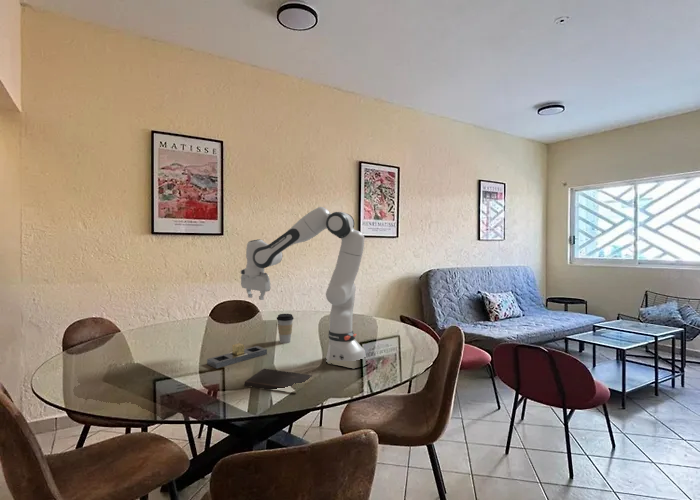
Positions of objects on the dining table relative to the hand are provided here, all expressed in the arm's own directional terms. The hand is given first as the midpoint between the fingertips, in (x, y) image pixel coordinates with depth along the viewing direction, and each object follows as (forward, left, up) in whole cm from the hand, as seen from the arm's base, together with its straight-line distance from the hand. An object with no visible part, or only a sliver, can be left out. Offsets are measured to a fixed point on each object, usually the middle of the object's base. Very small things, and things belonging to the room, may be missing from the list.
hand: (255, 298), depth 205 cm
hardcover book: (-40, +17, -28) cm, 52 cm away
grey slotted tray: (-3, +13, -28) cm, 30 cm away
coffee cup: (+3, -21, -28) cm, 35 cm away
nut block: (-3, +13, -28) cm, 30 cm away
